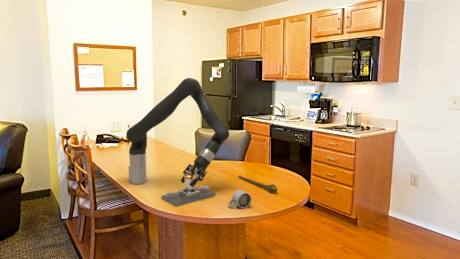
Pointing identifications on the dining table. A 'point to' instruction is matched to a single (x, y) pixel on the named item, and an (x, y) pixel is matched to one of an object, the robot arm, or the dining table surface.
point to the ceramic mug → (240, 199)
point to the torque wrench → (270, 188)
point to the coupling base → (187, 195)
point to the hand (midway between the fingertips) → (186, 184)
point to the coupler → (188, 182)
